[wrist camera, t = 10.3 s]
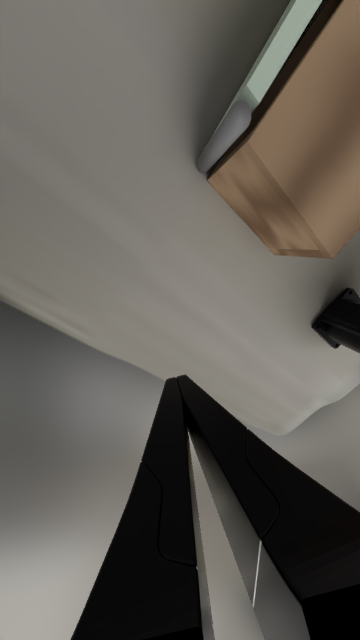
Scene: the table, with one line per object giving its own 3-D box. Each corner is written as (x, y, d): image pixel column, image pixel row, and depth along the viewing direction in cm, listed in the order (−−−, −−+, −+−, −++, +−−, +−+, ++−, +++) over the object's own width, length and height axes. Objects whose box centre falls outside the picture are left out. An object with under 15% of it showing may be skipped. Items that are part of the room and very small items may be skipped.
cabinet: (388, 114, 16) (524, 43, 11) (274, 254, 19) (332, 258, 13) (340, -19, 13) (510, -242, 7) (207, 180, 15) (247, 141, 10)
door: (339, -49, 12) (507, -297, 6) (204, 176, 15) (241, 137, 10) (323, -90, 11) (498, -411, 6) (184, 156, 14) (212, 101, 9)
